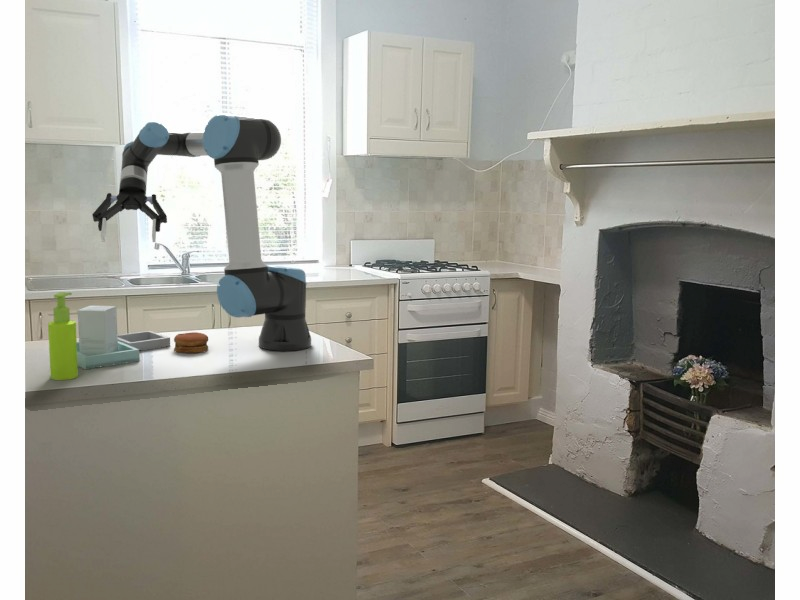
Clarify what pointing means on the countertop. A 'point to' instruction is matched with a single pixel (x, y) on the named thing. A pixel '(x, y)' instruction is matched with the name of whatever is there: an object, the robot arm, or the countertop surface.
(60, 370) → the soap dispenser
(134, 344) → the holder
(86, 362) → the tray
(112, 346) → the supplement box
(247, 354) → the countertop surface
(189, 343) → the burger
